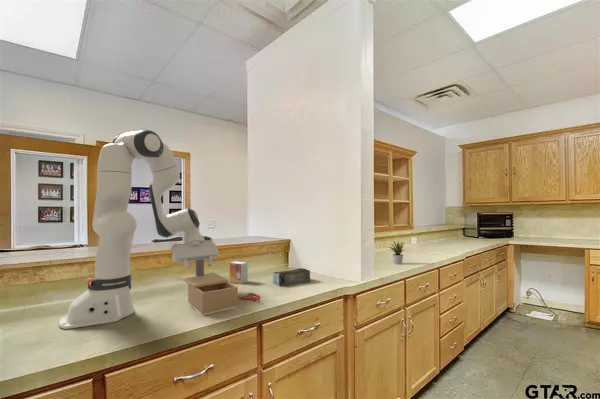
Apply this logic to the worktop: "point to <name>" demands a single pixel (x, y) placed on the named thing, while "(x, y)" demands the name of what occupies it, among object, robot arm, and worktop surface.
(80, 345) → the worktop surface
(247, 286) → the worktop surface
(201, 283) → the carton lid
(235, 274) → the small box
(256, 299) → the scissors
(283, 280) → the beverage carton
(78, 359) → the worktop surface
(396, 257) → the house plant
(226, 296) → the carton
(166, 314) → the worktop surface
